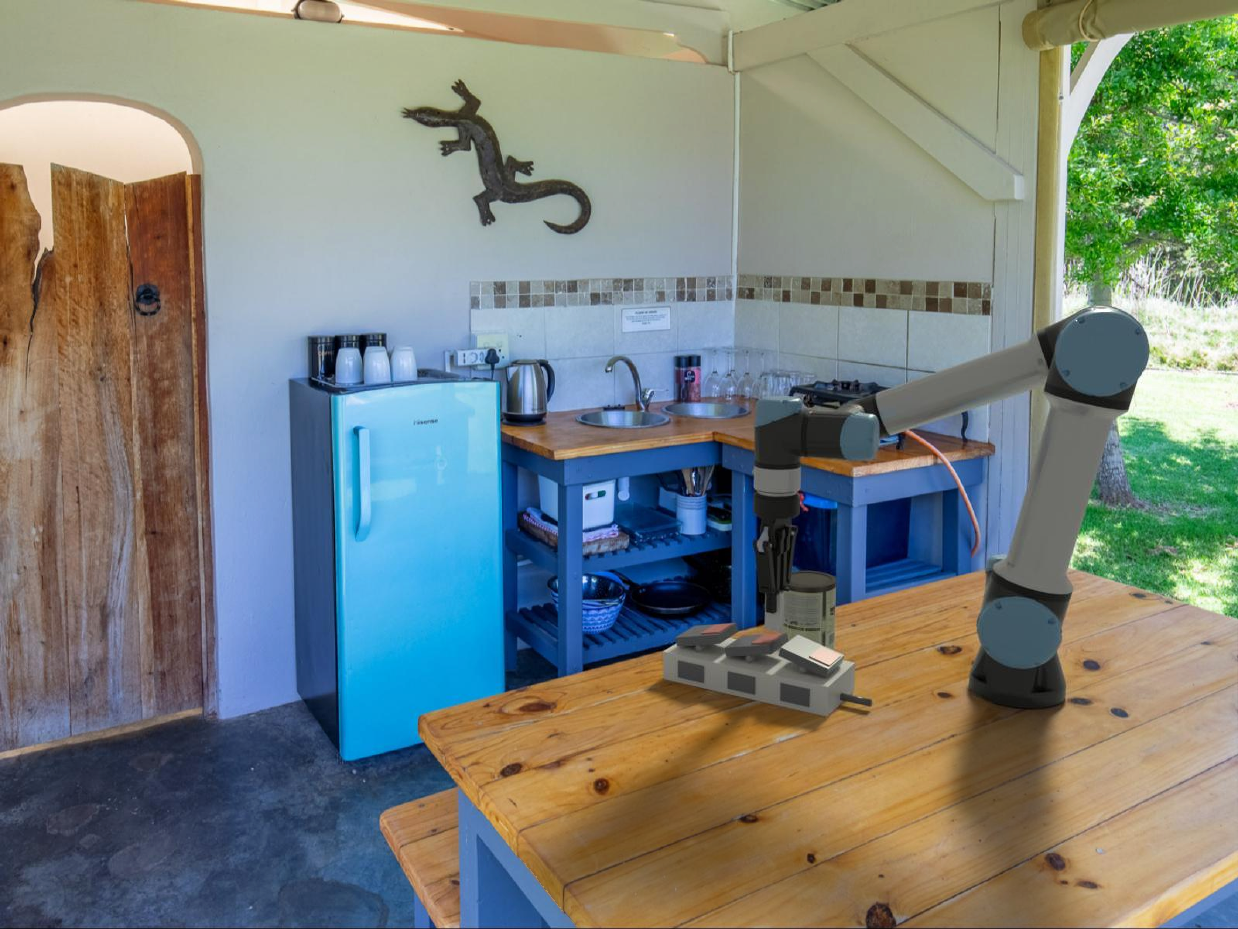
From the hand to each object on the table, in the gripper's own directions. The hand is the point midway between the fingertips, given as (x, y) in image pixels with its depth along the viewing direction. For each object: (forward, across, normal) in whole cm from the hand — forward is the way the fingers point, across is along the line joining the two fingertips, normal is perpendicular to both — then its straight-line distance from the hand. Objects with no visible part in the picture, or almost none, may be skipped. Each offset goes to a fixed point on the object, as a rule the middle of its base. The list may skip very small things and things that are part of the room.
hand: (773, 629), depth 176 cm
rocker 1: (+4, 0, -12) cm, 13 cm away
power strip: (+10, 0, 0) cm, 11 cm away
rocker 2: (+4, 0, -3) cm, 5 cm away
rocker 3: (+4, 0, +7) cm, 8 cm away
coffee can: (+11, -19, -2) cm, 22 cm away
